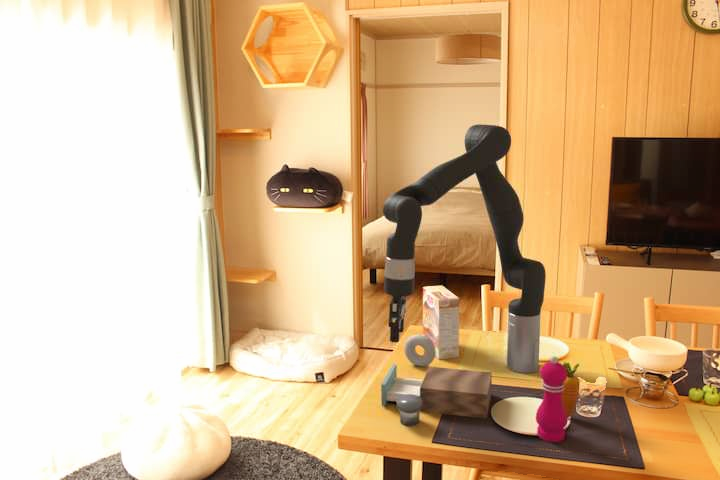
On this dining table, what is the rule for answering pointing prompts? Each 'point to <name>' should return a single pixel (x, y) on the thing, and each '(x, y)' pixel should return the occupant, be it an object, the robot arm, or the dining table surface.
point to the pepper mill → (552, 402)
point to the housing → (456, 392)
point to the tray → (398, 386)
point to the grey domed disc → (409, 403)
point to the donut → (427, 346)
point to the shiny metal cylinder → (409, 418)
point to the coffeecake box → (441, 320)
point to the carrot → (570, 389)
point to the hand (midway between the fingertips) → (396, 336)
